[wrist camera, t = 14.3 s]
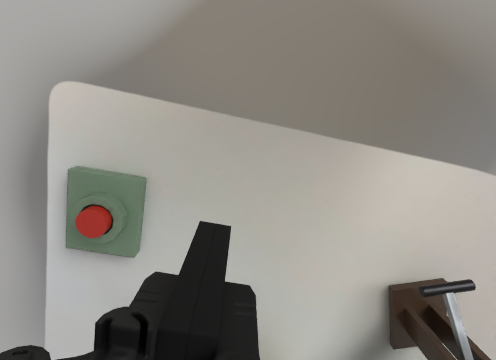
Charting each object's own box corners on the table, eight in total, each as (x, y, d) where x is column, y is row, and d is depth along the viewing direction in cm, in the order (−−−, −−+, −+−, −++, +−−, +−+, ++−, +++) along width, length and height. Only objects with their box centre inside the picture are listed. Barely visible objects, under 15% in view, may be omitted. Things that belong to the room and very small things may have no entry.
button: (83, 203, 37) (75, 207, 36) (113, 208, 38) (107, 212, 36) (82, 230, 38) (74, 235, 37) (111, 234, 39) (105, 240, 37)
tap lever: (415, 285, 40) (424, 287, 37) (463, 278, 40) (476, 280, 37) (443, 389, 36) (455, 398, 34) (495, 382, 36) (511, 391, 34)
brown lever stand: (388, 285, 46) (450, 357, 32) (442, 278, 46) (526, 347, 32) (390, 343, 49) (446, 432, 35) (440, 337, 49) (516, 422, 35)
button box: (76, 165, 40) (59, 171, 36) (146, 177, 40) (136, 184, 36) (74, 240, 42) (57, 253, 39) (139, 250, 43) (129, 264, 39)
